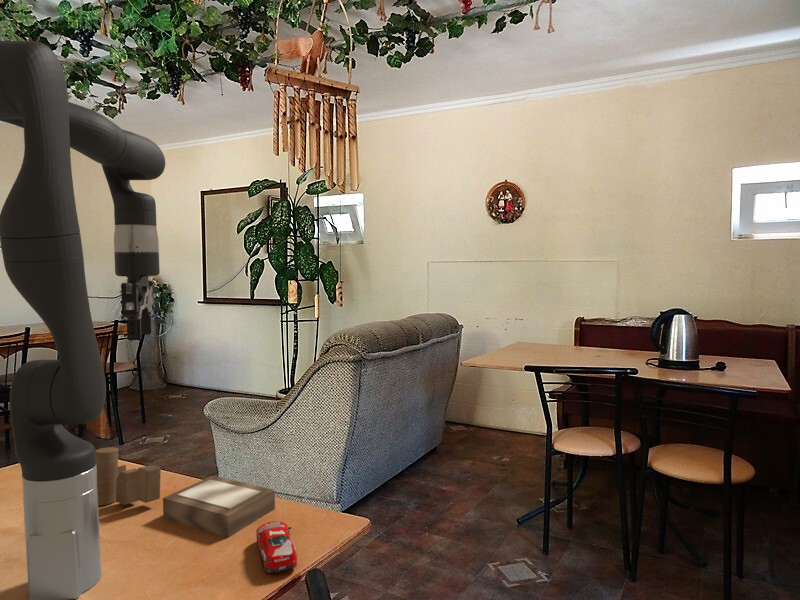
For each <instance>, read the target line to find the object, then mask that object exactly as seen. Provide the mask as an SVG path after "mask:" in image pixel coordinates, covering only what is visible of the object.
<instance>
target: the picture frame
mask: <svg viewBox="0 0 800 600" xmlns="http://www.w3.org/2000/svg"><path fill="white" fill-rule="evenodd" d="M275 494H276V492H275V489H272V488H267V487H262V486H260V485H259V486H258V485H254V484H250V483H246V482H242V481H239V480H238V481H237V480H233V479H229V478H224V477H221V476H215V475H211V476H209V477H207V478H204V479H203V480H200V481H198V482H195V483H193V484H191V485H189V486H187V487H184V488H182V489H180V490H178V491H175V492H173V493H171V494H169V495H166V496H164V497H162V508H163V509H162V513H163V520H166V521H171V522H173V523H178V524H180V525H184V526H187V527H192V528H195V529H197V530H202V531H204V532H207V533H211V534H214V535H218V536H221V537H225V538H231V537H232V536H233V535H235V534H237V533H238V532H240V531H241V530H243V529H245V528H247V527H248V526H250V525H251V524H253V523H255V522H256V521H258V520H259V518H260V519H261V518H263V517H264V515H265V516H266V515H268V514H270V513H271V512H273V511H274V510H276V500H275V499H276V497H275ZM262 516H263V517H262ZM257 519H258V520H257ZM254 521H255V522H254Z"/></svg>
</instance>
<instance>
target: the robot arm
mask: <svg viewBox="0 0 800 600" xmlns="http://www.w3.org/2000/svg"><path fill="white" fill-rule="evenodd" d="M0 122H3V123H6V124H11V125H14V126H16V127H19V128H22V129H23V142H24V143H23V144H24V150H23V151H24V152H23V159H22V162H21V163H22V164H21V167H20V170H19V172H18V174H17V176H16V179H14V183H13V184H12V187H11V189H10V191H9V193H8V194H7V196H6V199H5V201H4V203H3V206H2V208H1V211H0V248H1V253H2V261H3V264H4V269H5V272H6V275H7V277H8V279H9V280H10V282H11V284H12V285H13V287H14V288H15V289H16V290H17V292H18V293H19V294H20V296H21V297H22V298H23V299H24V300H25V302H26V303H27V304H28V305H29V306H30V307H31V308H32V309H33V310H34V312H35V313H36V314H37V315H38V317H39V318H41V320H42V321H43V323H44V324H45V326H46V328H47V330H49V332H50V333H49V334H51V337H52V339H53V342H54V345H55V347H56V352H57V356H58V359H36V360H35V359H34V360H30V361H27V362H25V363H23V364H21V366H19V368H18V369H17V370H16V371H15V373H14V375H13V378H12V381H11V384H10V389H9V410H10V419H11V428H12V437H13V445H14V453H15V457H16V460H17V462H18V463H19V465H20V468H21V481H22V500H23V502H22V503H23V520H24V537H25V540H24V541H25V557H26V558H25V559H26V572H27V573H26V574H27V577H26V578H27V589H28V590H27V591H28V593H27V594H28V599H29V600H73V599H74V600H75V599H78V598H79V597H80V596H81V595H82V594H83V593H85V592H87V591H88V590H90V589H91V588H92V587H94V586H96V584H97V583H98V582H99V581H100V580H101V577H102V561H101V558H102V557H101V542H100V540H101V537H100V516H99V515H100V514H99V505H98V491H97V467H96V450H97V449H96V448H95V446H94V444H92V443H91V442H90V441H88V440H84V439H82V438H80V437H77V436H76V435H74V434H73V433H71V432H70V431H68V430H67V428H65V427H64V426H65V425H84V424H90V423H92V422H94V421H96V420H97V419H99V417H100V416H101V414H102V412H103V411H104V407H105V404H106V398H107V382H106V375H105V370H104V365H103V359H102V356H101V352H100V349H99V344H98V340H97V337H96V336H97V335H96V331H95V326H94V323H93V319H92V313H91V308H90V307H91V306H90V301H89V295H88V289H87V281H86V280H87V279H86V271H85V260H84V250H83V244H82V237H81V236H82V235H81V231H80V223H79V218H78V211H77V206H76V198H75V190H74V182H73V173H72V172H73V171H72V162H71V161H72V160H71V149H73V150H74V151H77V153H80V154H82V155H83V156H85V157H87V158H89V159H91V160H92V161H94V162H96V163H98V164H100V165H101V168H102V171H103V173H104V176H105V179H106V182H107V184H108V188H109V192H110V196H111V199H112V202H113V212H114V213H113V214H114V215H113V216H114V217H113V218H114V233H113V252H114V253H113V255H114V273H115V276H117V277H126V278H127V279H126V282H122V283H120V288H121V293H120V294H121V296H120V297H121V315H122V317H123V318H124V320H125V321H126V335H127V336H126V338H127V340H128V341H132V342H133V341H140V340H141V339H142V336H147V335H151V334H152V332H153V330H152V329H153V328H152V315H153V313H154V311H155V309H156V307H155V296H154V295H155V294H154V281H153V280H149V277H156V276H159V275H160V273H161V271H160V249H159V247H160V245H159V244H160V243H159V235H158V230H157V229H158V228H157V225H158V223H157V205H156V200H155V198H154V197H153V195H150V194H147V193H143V192H139V191H135V190H134V189H133V187H132V185H131V182H130V181H152V180H156V179H158V178H160V177H161V176H162V174H163V173H164V171H165V168H166V158H165V154H164V153H163V151H162V149H161V148H160V147H159V146H158V144H156V142H154V141H153V140H151V139H150V138H148V137H145V136H142V135H140V134H137V133H135V132H133V131H128V130H125V129H122V128H121V127H120V126H118V125H117V124H116V123H115V122H113V121H112V120H110V118H108V117H106V116H104V115H102V113H101V114H100V113H99V112H97V111H95V110H94V109H93V110H92V109H91V108H88V107H85V106H83V105H79V104H77V103H73V102H70V101H69V95H68V86H67V81H66V76H65V72H64V69H63V67H62V64H61V62H60V60H59V58H58V56H57V55H56V54H55V52H54V51H53V50H52V49H51V48H50V47H49V46H47V44H45V43H43V42H40V41H35V40H34V41H32V40H15V41H14V40H0Z"/></svg>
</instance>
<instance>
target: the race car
mask: <svg viewBox="0 0 800 600" xmlns="http://www.w3.org/2000/svg"><path fill="white" fill-rule="evenodd" d="M291 529H292V526H289V525H288V524H287V523H286V522H284V521H278V520H274V521H268V522H265V523H263V524H261V525H259V526H258V527H257V529H256V530H255V533H256V542H257V546H258V551H259V555H260V560H261V562H262V567H263V568H262V569H263V571H265V572H266V573H269V574H276V573H280V572H284V571H288V570H293V569H294V568H297V566H298V553H297V549H296V546H295V543H294V541H293V537H292V534H291V531H290V530H291Z"/></svg>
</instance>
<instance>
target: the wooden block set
mask: <svg viewBox="0 0 800 600" xmlns="http://www.w3.org/2000/svg"><path fill="white" fill-rule="evenodd" d="M95 450H96V467H97V491H98V506H107V505H110V504H113V503H119V504H121V505H123V506H126V505H129V504H132V503H135V502H138V501H140V502H143V503H144V504H145V503H146V504H148V503H150V502H153V501H156V500H160V498H161V472H162V469H161V467H160V466H158V465H154V464H149V465H144V466H141V467H138V468H131V469H127V464H124V465H120V466H119V448H118V447H114V446H113V447H112V446H111V447H103V448H98V449H95Z"/></svg>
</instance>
